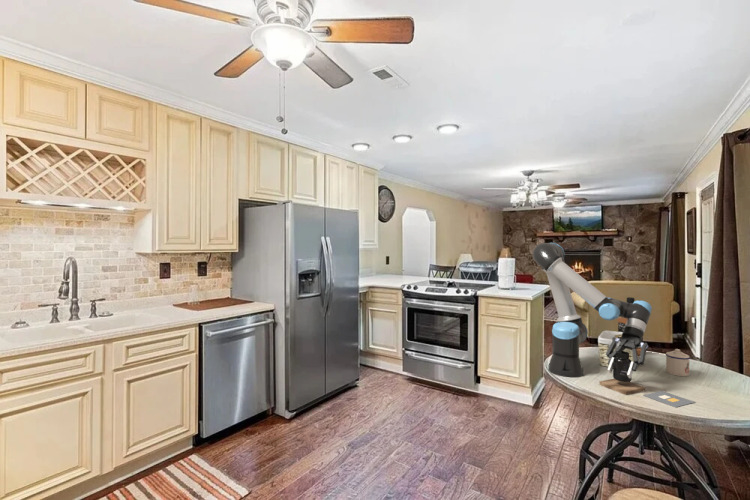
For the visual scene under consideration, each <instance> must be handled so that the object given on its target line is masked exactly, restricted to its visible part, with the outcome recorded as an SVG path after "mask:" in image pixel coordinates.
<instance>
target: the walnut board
mask: <svg viewBox="0 0 750 500" xmlns="http://www.w3.org/2000/svg"><path fill="white" fill-rule="evenodd" d="M599 386H601V387H604V388H607V389H610V390H612V391H615V392H617V393H620V394H622V395H624V396H628V395H633V394H636V393H641V392H642V393H643V392H645V391H646V386H643V385H640V384H638V383H635V382H632V381H630V382H622V381H618V380H615V379H614V378H611V379H605V380H600V381H599Z"/></svg>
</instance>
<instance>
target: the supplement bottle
mask: <svg viewBox="0 0 750 500" xmlns="http://www.w3.org/2000/svg"><path fill="white" fill-rule="evenodd" d="M616 356H617V357H615V358H614V359H613V370H612V379H615V380H618V381H622V382H632V380H633V379H632V377H633V376H632V377H631V378H629V377H628V375H627V373H628V370H629V367H630V364H631V362H632V361H631V360H630V359H629V353H628V352H625V351H616Z"/></svg>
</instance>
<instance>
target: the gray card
mask: <svg viewBox="0 0 750 500" xmlns="http://www.w3.org/2000/svg"><path fill="white" fill-rule="evenodd" d="M643 397H646V398H648V399H652V400H655V401H657V402H660V403H663V404H665V405H668V406H671V407H673V408H681V407H683V406H688V405H691V404H695V403H696V401H693V400H690V399H688V398H685V397H681V396H679V395H676V394H673V393H670V392H668V391H664V390H660V391H654V392H650V393H646V394H643Z"/></svg>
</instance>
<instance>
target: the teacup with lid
mask: <svg viewBox="0 0 750 500" xmlns="http://www.w3.org/2000/svg"><path fill="white" fill-rule="evenodd" d="M665 357H666V358H665V361H666V362H665V370H666V371H665V372H666V373H668V374H669V375H674V376H677V377H688V376H690V359H691V357H690V355H688V354H686V353H684V352H682V351H681V349H678V348H675V349H674V350H672V351H667V352H666V353H665Z"/></svg>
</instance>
